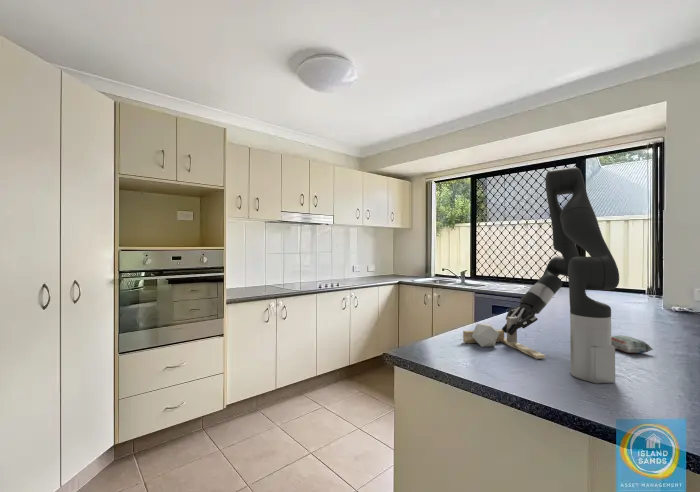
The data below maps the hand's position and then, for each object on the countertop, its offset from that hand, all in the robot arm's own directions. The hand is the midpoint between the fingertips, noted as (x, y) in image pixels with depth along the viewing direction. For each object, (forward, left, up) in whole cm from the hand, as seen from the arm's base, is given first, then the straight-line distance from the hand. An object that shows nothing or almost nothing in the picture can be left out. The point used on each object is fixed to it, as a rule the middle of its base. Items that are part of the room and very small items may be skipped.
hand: (506, 332), depth 120 cm
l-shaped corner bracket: (-4, +5, -5) cm, 8 cm away
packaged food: (-11, -37, -5) cm, 39 cm away
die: (+2, +7, -5) cm, 9 cm away
